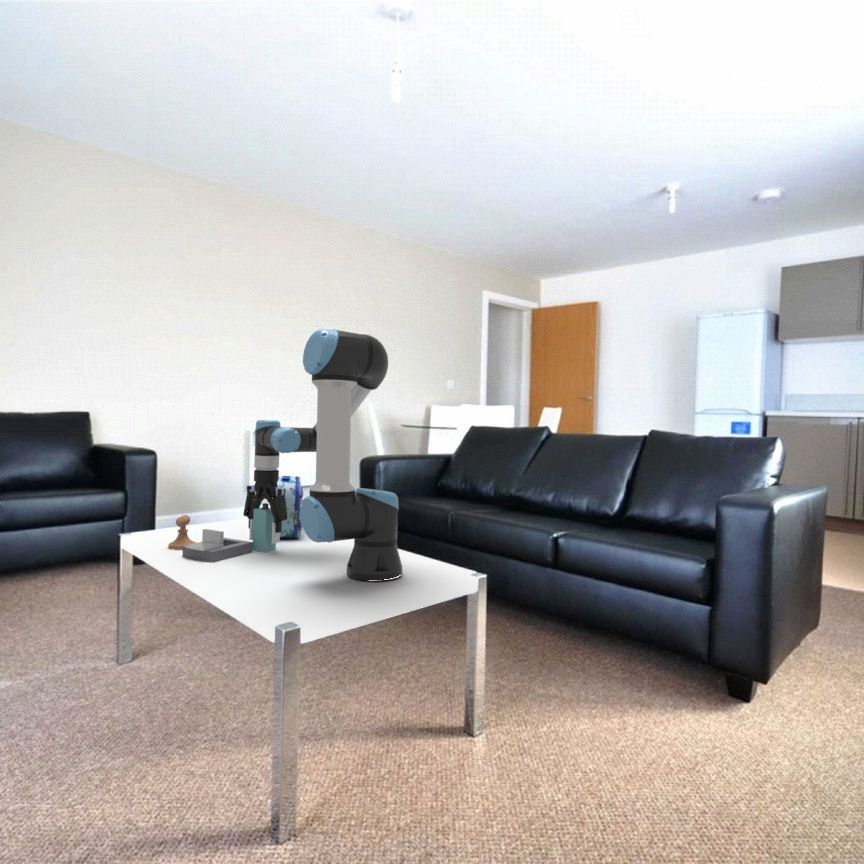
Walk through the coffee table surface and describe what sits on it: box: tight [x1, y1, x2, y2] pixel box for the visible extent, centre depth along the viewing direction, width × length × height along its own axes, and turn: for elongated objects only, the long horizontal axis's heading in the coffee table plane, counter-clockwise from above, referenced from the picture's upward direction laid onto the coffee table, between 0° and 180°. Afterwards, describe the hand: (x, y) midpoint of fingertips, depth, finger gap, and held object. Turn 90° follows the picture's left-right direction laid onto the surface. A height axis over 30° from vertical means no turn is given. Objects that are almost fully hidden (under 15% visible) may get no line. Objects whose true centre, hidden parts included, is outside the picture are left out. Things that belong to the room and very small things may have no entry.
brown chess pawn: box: [168, 514, 197, 551], centre depth 182 cm, size 8×10×8 cm
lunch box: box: [276, 475, 304, 540], centre depth 209 cm, size 26×11×21 cm, turn 14°
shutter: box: [186, 528, 225, 551], centre depth 170 cm, size 7×7×4 cm
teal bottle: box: [252, 502, 277, 553], centre depth 183 cm, size 5×5×15 cm
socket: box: [181, 537, 254, 563], centre depth 175 cm, size 12×16×3 cm
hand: (264, 540), depth 183 cm, fingers open, 8 cm apart
